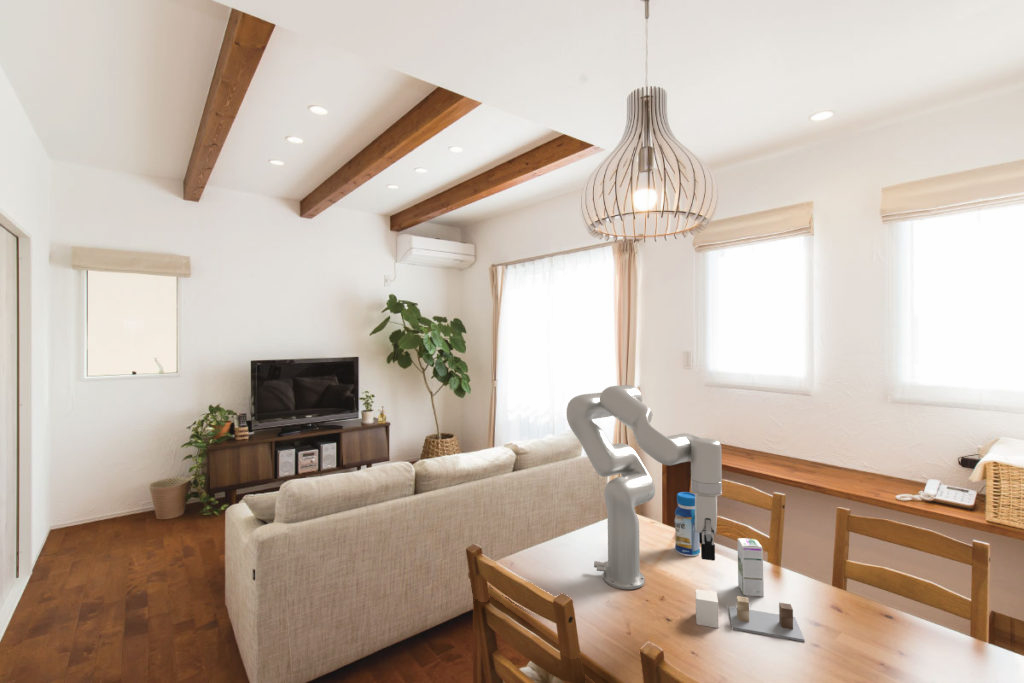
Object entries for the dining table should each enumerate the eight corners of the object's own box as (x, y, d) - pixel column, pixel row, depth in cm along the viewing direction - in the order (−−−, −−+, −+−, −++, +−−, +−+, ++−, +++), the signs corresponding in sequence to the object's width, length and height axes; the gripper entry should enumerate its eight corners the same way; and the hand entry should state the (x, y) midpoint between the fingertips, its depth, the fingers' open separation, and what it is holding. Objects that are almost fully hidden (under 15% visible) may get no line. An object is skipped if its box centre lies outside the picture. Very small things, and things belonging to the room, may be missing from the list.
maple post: (738, 620, 124) (738, 601, 124) (737, 614, 126) (736, 596, 126) (749, 622, 123) (749, 602, 123) (747, 616, 126) (747, 597, 126)
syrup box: (764, 597, 136) (764, 546, 136) (742, 595, 137) (742, 545, 137) (758, 587, 142) (758, 538, 142) (737, 585, 143) (736, 537, 143)
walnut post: (781, 627, 121) (781, 607, 121) (779, 621, 123) (779, 602, 123) (793, 629, 120) (792, 609, 120) (790, 623, 122) (790, 604, 122)
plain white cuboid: (696, 624, 123) (696, 598, 123) (695, 613, 128) (695, 589, 128) (718, 628, 122) (718, 602, 122) (716, 617, 126) (716, 592, 127)
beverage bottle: (704, 557, 162) (703, 498, 162) (679, 557, 162) (679, 498, 162) (695, 546, 170) (694, 490, 170) (671, 546, 170) (671, 491, 170)
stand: (732, 629, 121) (732, 626, 121) (728, 608, 130) (728, 606, 130) (804, 641, 116) (804, 639, 116) (794, 619, 125) (794, 617, 125)
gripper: (690, 476, 134) (690, 536, 134) (692, 495, 118) (692, 563, 118) (718, 478, 132) (719, 540, 132) (725, 498, 116) (725, 568, 116)
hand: (706, 551), depth 125 cm, fingers open, 9 cm apart
